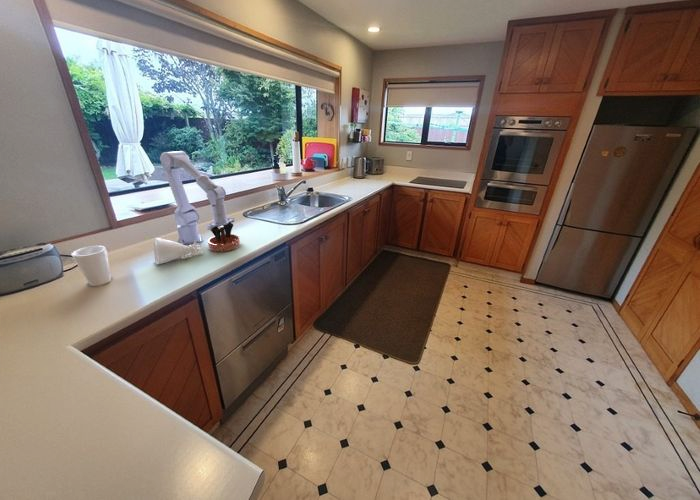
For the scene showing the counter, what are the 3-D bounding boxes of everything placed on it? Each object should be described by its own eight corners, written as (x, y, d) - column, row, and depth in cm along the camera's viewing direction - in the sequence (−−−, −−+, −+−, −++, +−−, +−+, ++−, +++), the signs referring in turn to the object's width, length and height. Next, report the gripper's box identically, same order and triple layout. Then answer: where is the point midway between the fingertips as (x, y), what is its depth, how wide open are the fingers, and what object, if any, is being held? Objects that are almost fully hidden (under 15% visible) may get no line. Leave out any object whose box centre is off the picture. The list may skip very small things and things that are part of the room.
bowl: (211, 254, 131) (210, 246, 130) (207, 244, 142) (205, 236, 141) (243, 248, 139) (241, 241, 137) (236, 239, 149) (235, 232, 148)
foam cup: (91, 277, 109) (79, 247, 104) (119, 274, 113) (109, 244, 107) (79, 289, 101) (65, 257, 96) (110, 285, 104) (99, 254, 99)
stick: (223, 246, 139) (220, 227, 135) (222, 245, 140) (219, 226, 136) (227, 245, 140) (224, 226, 136) (226, 244, 141) (223, 225, 137)
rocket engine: (202, 232, 130) (156, 232, 118) (207, 254, 126) (159, 256, 114) (197, 245, 138) (153, 246, 126) (201, 266, 134) (156, 269, 122)
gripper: (212, 218, 126) (216, 245, 131) (237, 210, 138) (240, 236, 143) (201, 215, 129) (206, 242, 134) (227, 208, 140) (231, 233, 146)
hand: (223, 239), depth 139 cm, fingers open, 5 cm apart
